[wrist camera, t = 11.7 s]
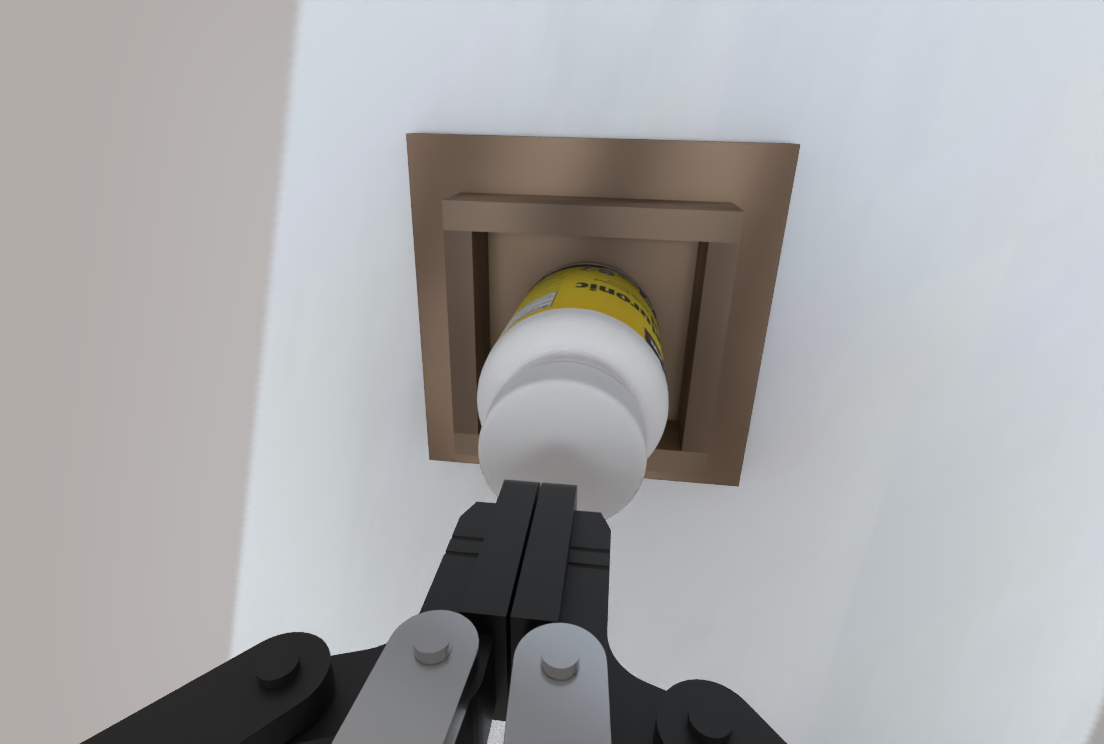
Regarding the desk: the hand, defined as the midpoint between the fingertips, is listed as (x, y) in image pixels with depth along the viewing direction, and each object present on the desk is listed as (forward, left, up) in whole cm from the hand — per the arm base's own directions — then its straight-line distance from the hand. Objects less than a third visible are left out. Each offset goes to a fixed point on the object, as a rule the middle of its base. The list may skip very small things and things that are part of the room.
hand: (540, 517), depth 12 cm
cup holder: (0, 0, -13) cm, 13 cm away
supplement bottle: (0, 0, -13) cm, 13 cm away
